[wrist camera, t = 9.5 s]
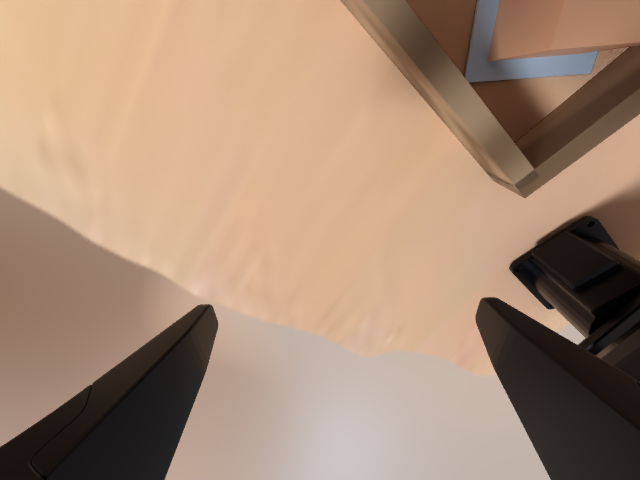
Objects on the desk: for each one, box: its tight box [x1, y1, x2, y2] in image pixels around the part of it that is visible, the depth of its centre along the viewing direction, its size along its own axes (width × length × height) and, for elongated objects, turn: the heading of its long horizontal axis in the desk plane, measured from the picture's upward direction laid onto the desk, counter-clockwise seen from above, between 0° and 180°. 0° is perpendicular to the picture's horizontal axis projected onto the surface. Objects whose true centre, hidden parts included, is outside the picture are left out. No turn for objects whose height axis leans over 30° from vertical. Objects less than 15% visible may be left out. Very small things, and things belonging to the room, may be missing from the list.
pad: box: [464, 0, 598, 83], centre depth 14 cm, size 7×7×1 cm
